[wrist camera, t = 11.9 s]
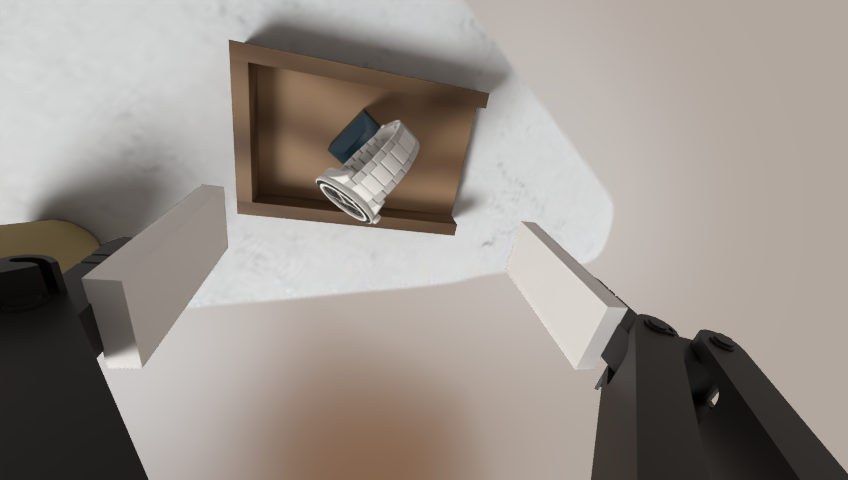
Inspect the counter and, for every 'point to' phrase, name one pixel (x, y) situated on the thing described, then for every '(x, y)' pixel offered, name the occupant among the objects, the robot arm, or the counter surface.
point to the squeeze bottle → (48, 241)
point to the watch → (368, 165)
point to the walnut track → (322, 122)
